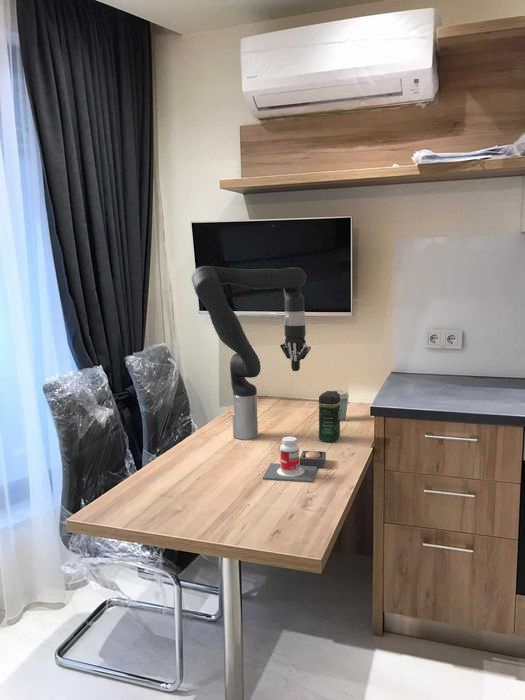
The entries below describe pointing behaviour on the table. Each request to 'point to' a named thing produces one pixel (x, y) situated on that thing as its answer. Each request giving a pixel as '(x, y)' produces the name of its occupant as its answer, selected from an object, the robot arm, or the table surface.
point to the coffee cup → (343, 404)
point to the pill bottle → (289, 455)
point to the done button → (312, 455)
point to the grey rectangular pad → (302, 475)
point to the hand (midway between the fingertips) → (295, 370)
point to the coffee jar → (329, 416)
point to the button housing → (313, 459)
